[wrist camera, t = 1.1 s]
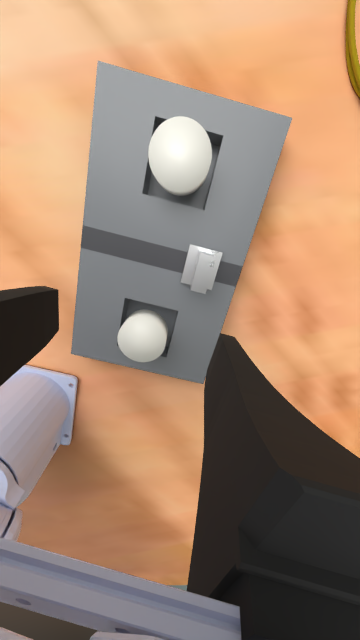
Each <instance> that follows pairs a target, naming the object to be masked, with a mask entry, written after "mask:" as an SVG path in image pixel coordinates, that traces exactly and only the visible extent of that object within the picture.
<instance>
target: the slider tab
mask: <svg viewBox="0 0 360 640" xmlns="http://www.w3.org/2000/svg"><path fill="white" fill-rule="evenodd" d="M221 257H222V252H218V251H214V250H211V249H207V248H203V247H199V246H195V245H191V244H190V246H189V250H188V254H187V258H186V262H185V267H184V271H183V275H182V279H181V283H185V284H189V285H190V287H191V291H195V292H199V293H203V294H206V291H207V289H209V290H212V287H213V283H214V280H215V277H216V273H217V270H218V267H219V263H220V260H221Z"/></svg>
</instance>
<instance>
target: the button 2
mask: <svg viewBox="0 0 360 640" xmlns="http://www.w3.org/2000/svg"><path fill="white" fill-rule="evenodd" d="M148 158H149V164H150V168H151V171H152V173H153V175H154V176H155V178H156V179H157V181H158V183H159V184H160V185H161V187H162V188H163V189H164V190H166V191H167V192H169V193H171V194H173V195H177V196H185V195H189V194H191V193H193V192H195V191H196V190H197V189H199V188H200V187H201V185H202V184H203V183H204V181H205V179H206V177H207V174H208V171H209V168H210V165H211V160H212V148H211V143H210V139H209V137H208V135H207V133H206V131H205V130H204V128H203V127H202V126H201V125H200V124H199V123H198V122H196V121H195V120H193V119H191V118H188V117H184V116H177V117H173V118H170V119H168V120H166V121H164V122H163V123H162V124H161V125H159V127H158V128H157V129H156V130H155V132H154V134H153V136H152V138H151V141H150V144H149V150H148Z"/></svg>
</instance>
